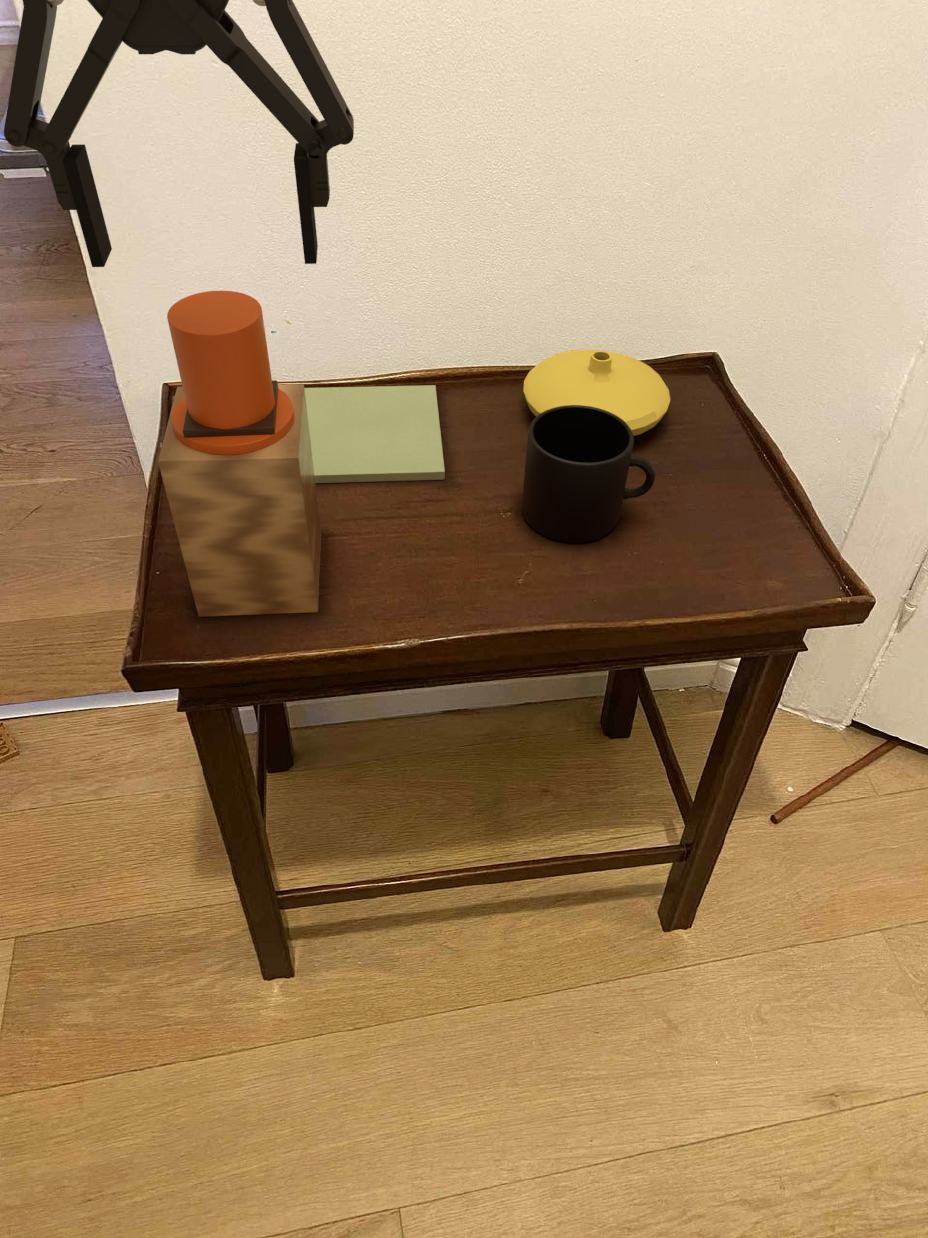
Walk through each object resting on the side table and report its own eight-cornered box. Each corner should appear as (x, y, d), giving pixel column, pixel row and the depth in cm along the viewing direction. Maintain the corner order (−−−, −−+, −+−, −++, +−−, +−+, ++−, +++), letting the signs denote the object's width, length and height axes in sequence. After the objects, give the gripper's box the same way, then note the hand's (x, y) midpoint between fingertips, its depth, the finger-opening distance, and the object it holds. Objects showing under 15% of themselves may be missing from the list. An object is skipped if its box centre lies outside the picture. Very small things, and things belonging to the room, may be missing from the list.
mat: (262, 484, 90) (260, 476, 89) (272, 396, 101) (271, 388, 100) (444, 479, 91) (444, 471, 90) (435, 392, 102) (435, 384, 101)
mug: (647, 551, 84) (665, 471, 78) (518, 539, 85) (525, 459, 78) (644, 489, 91) (661, 411, 84) (524, 478, 91) (531, 400, 85)
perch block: (198, 617, 77) (157, 461, 65) (211, 539, 84) (177, 386, 72) (318, 612, 78) (298, 457, 66) (321, 535, 85) (304, 383, 73)
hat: (166, 457, 66) (138, 346, 59) (180, 390, 72) (156, 283, 66) (292, 452, 66) (278, 342, 60) (295, 386, 73) (282, 280, 66)
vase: (679, 455, 95) (693, 396, 90) (529, 457, 94) (534, 398, 89) (649, 375, 106) (660, 318, 101) (514, 376, 105) (518, 319, 100)
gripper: (-165, -162, 42) (-3, 285, 57) (384, -153, 43) (398, 278, 58) (-107, -180, 47) (27, 234, 62) (381, -171, 48) (395, 229, 64)
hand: (207, 256), depth 60 cm, fingers open, 13 cm apart
